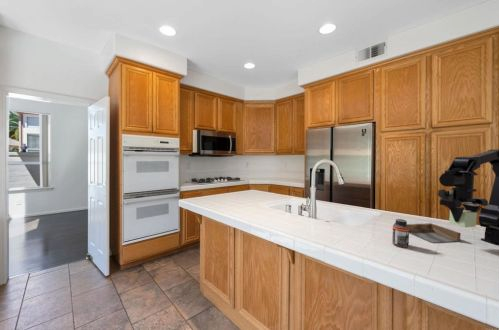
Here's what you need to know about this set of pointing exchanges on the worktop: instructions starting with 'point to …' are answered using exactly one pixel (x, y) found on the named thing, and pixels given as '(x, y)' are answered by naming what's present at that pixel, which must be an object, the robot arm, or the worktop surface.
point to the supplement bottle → (400, 233)
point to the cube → (465, 219)
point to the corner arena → (433, 233)
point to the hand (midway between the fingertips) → (462, 221)
